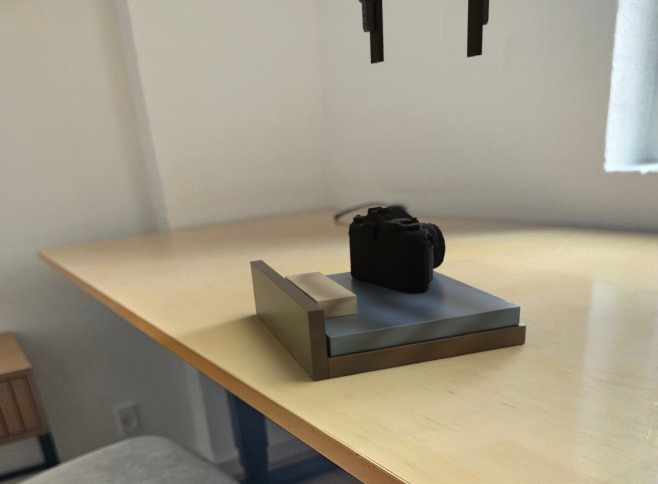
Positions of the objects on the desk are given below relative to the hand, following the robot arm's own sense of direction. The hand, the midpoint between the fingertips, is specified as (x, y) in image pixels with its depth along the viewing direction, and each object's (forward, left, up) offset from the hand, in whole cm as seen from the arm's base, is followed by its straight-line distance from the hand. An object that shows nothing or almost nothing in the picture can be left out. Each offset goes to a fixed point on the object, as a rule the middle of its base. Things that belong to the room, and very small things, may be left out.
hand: (426, 59), depth 84 cm
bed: (+14, +17, -29) cm, 36 cm away
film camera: (+9, +12, -25) cm, 29 cm away
